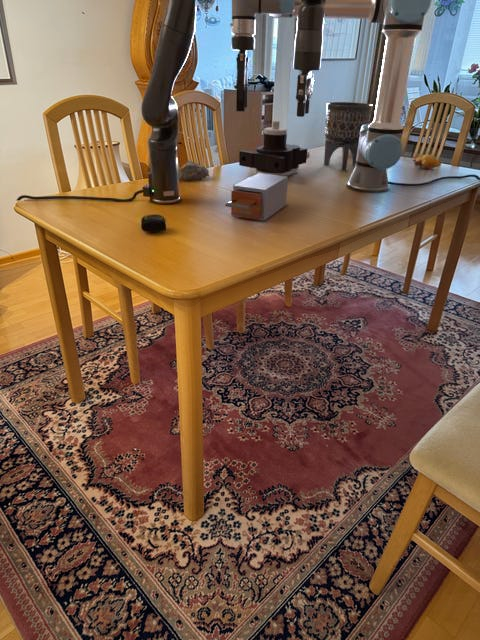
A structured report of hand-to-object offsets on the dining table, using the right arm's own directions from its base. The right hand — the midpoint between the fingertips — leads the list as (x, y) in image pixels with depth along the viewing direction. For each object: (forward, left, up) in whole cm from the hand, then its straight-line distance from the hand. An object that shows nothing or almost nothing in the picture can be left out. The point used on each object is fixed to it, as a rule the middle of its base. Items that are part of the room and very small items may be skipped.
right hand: (241, 109), depth 155 cm
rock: (+20, -16, -28) cm, 38 cm away
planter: (-44, -51, -28) cm, 73 cm away
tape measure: (+21, +48, -28) cm, 59 cm away
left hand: (-20, +25, +1) cm, 32 cm away
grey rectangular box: (-8, +23, -28) cm, 37 cm away
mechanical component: (-15, -33, -28) cm, 46 cm away
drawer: (-6, +28, -27) cm, 40 cm away
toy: (-83, -56, -28) cm, 104 cm away
